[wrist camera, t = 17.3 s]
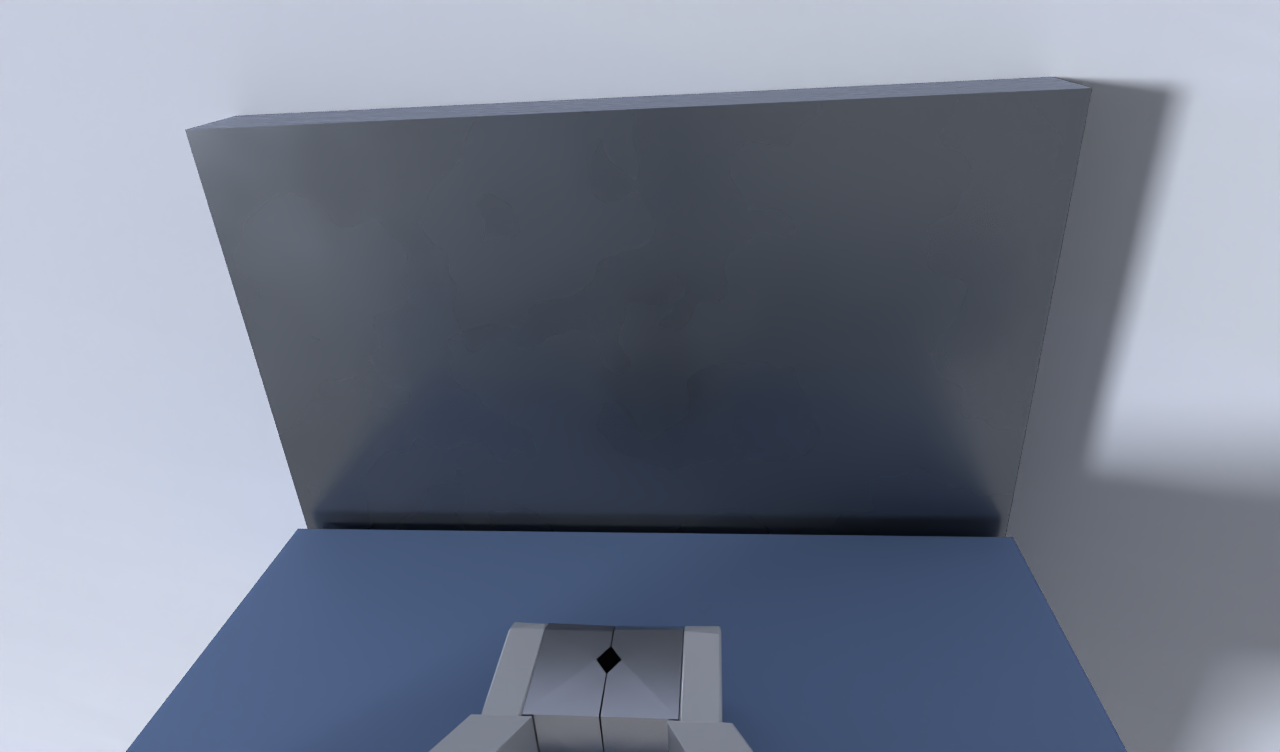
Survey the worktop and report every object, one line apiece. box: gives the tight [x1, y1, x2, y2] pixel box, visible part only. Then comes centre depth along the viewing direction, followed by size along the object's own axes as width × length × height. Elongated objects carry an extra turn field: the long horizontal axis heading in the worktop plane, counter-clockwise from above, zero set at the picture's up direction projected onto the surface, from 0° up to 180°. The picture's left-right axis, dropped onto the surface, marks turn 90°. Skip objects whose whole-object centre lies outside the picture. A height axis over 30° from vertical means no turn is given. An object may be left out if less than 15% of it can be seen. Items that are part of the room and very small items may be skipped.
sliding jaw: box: [126, 529, 1127, 752], centre depth 13 cm, size 4×14×7 cm, turn 93°
